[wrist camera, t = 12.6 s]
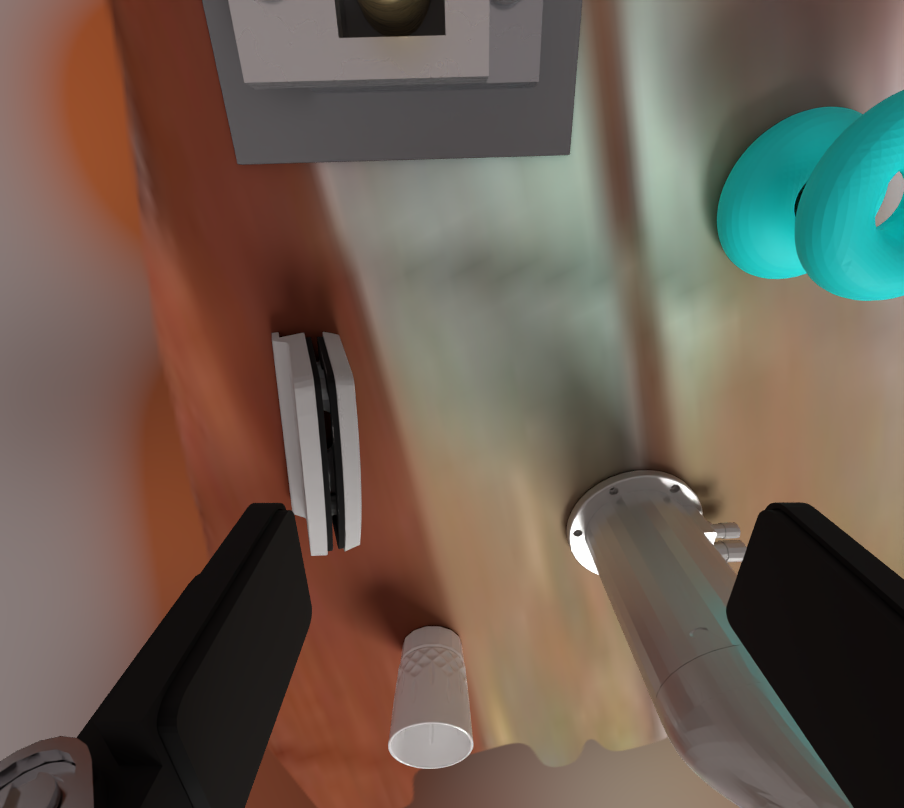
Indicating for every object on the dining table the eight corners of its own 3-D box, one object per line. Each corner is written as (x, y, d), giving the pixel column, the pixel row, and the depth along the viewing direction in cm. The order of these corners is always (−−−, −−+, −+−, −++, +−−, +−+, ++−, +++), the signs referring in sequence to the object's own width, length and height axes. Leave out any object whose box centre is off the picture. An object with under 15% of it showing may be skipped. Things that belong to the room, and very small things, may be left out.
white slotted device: (271, 327, 32) (272, 377, 23) (335, 325, 33) (358, 371, 25) (292, 504, 39) (298, 590, 31) (344, 495, 41) (364, 574, 32)
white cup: (399, 666, 50) (390, 769, 41) (396, 621, 46) (386, 723, 37) (465, 666, 50) (471, 768, 41) (468, 620, 47) (475, 721, 38)
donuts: (848, 98, 18) (1101, 40, 17) (712, 131, 27) (875, 94, 26) (809, 323, 22) (1010, 284, 22) (703, 287, 31) (843, 259, 31)
